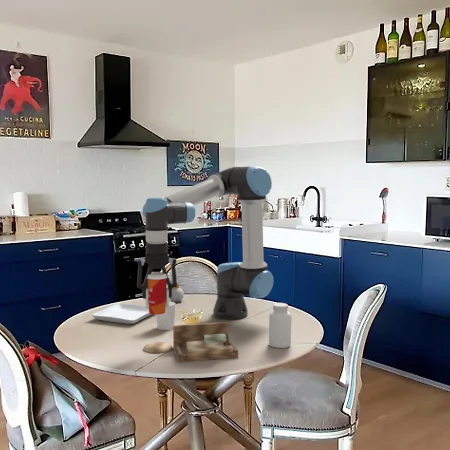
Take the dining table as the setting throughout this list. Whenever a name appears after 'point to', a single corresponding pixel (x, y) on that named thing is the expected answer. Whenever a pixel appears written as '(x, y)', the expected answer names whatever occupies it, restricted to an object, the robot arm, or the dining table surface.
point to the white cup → (166, 318)
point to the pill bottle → (280, 326)
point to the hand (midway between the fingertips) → (157, 307)
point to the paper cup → (157, 292)
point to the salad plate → (123, 313)
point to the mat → (157, 347)
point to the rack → (203, 342)
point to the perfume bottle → (176, 293)
